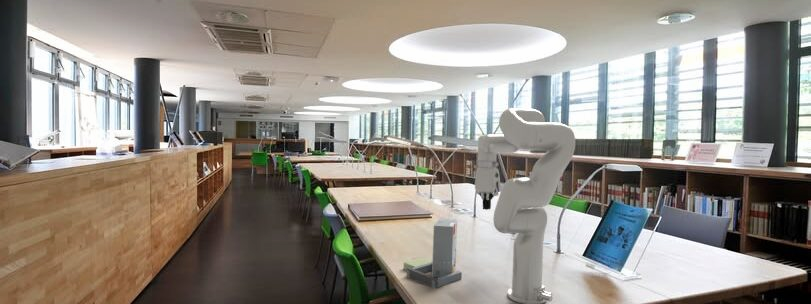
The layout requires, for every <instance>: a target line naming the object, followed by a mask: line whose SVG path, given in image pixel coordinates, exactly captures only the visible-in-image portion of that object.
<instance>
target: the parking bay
mask: <svg viewBox="0 0 811 304" xmlns="http://www.w3.org/2000/svg"><path fill="white" fill-rule="evenodd" d="M427 272H432V262H431V263H428V264H424V265H421V266H418V267H414V268H407V270H406V277H407V278H411V279H412V280H415V281H418V282H420V283H422V284H424V285H426V286H428V287H431V288H434V289H437V288H440V287H443V286H444V285H448V284H451V283H452V282H453V283H454V282H455V281H458V280H462V275H463V274H462V273H463V272H462V271H460V270H457V271H454V273H451V274H448V275H445V276H442V277H432V275H429V274H427Z"/></svg>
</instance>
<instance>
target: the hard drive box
mask: <svg viewBox="0 0 811 304" xmlns="http://www.w3.org/2000/svg"><path fill="white" fill-rule="evenodd" d="M457 231H458V219H456V218H444V217H443V218H442V217H440V218H439V219H438V220H437V222H436V223H435V224H434V225H433V236H432V238H433V239H432V241H433V242H432V260H431V261H432V270H431V276H432V277H435V278H439V277H442V276H445V275H448V274H451V273H454V272H455V269H456V267H457V266H456V265H457V233H458V232H457Z"/></svg>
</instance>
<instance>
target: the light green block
mask: <svg viewBox="0 0 811 304" xmlns="http://www.w3.org/2000/svg"><path fill="white" fill-rule="evenodd" d="M432 261H433V260H430V259H427V258H425V257H419V258H415V259H411V260H407V261H404V262H403V270H406V271H407V268H414V267H418V266H421V265H424V264H428V263H431V262H432Z"/></svg>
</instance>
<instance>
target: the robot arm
mask: <svg viewBox="0 0 811 304" xmlns="http://www.w3.org/2000/svg"><path fill="white" fill-rule="evenodd" d="M498 125H499V129H500V131H501V132H502V133H501V134H500V133H499V134H498V133H496V134H494V133H491V134H489V133H488V134H485V135H479V136H478V139H477V143H478V144H477V168H476V170H475V178H474V190H475V194H476V195H478V196H480V198H481V200H482V209H483V210H484V211H485V210H486V211H488V210H491V207H492V200H493V198H495V197H497V196H498V199H497V203H496V205H495V209H494V212H493V218H492V219H493V220H492V221H493V226H494V228H495V230H496V231H497V232H499V233H501V234H517V235H516V237H515V239H514V241H513V247H512V248H513V249H512V276H511V277H512V278H511V279H512V284H511V287H510V288H508V289H507V291H506V295H507V297H508V298H509V299H510V300H512V301H514V302H517V303H519V304H544V303H545V302H550V303H551V302H552V301H553V293H552V292H549V291H546V289H545V288H546V286H545V285H543V265H544V264H543V262H544V261H543V259H544V256H543V255H544V239H545V238H544V237H545V233H546V228H547V224H548V213H547V211H546V210H545V208H544V207H546V206H548V205H549V204H550V202H551V201H552V199H553V197H554V195H555V193H556V189H557V187H558V185H559V183H560V180H561V178H562V176H563V174H564V171H565V170H566V168H567V167H568V165H569V164H570V162H571V160H572V159H573V156H574V153H575V149H576V137H575V133H574V131H573V129H572V128H571V127H570V126H568V125H566V124H563V123H559V122H546V119H545V116H544V115H543V113H542V112H540V110H537V109H534V108H521V107H520V108H518V107H517V108H514V107H513V108H507V109H505V110H503V112H502V113H501V114H500V117H499V119H498ZM520 150H523V151H546V152H545V153H544V154H543V155H542V156H540V157H539V159H537V161H535V163H534V165H533V167H532V171H531V173H530V175H529V176H527V177H512V178H510V179H507V180H506V181H505V182H504V183H503V185H502V188H501V178H500V176H501V175H500V170H499V168H497V167H498V166H499V162H497V154H513V153H514V154H515V153H516V152H518V151H520Z"/></svg>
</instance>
